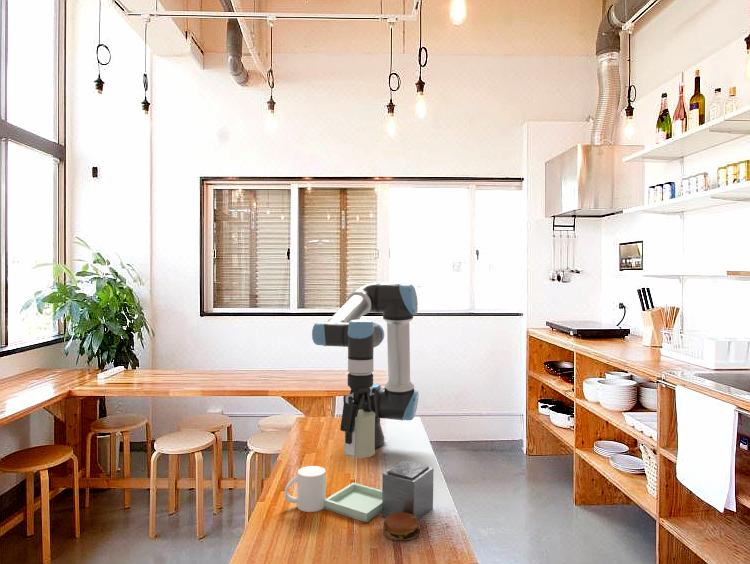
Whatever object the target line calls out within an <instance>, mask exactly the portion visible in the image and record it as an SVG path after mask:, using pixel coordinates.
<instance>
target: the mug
mask: <svg viewBox="0 0 750 564" xmlns="http://www.w3.org/2000/svg"><path fill="white" fill-rule="evenodd" d="M326 479H327V471H326V469H325V468H324V467H323V466H318V465H308V466H303V467H301V468H299V469H298V470H297V475H296V476H294V477H292V478H291V479H290V480H289V481H288V483H287V484H286V486H285V488H284V492H283V494H284V498H285V499H286V501H288V502H290V503H293V504H296V506H297V508H298V510H299V511H302V512H305V513H315V512H319V511H321V510H324V500H325V499H326V498H327V497H326V494H327V491H326V490H327V485H326V484H327V483H326V482H327V481H326ZM296 483H297V485H296V486H297V488H296V489H297V491H296V492H297V494H296V495H297V496H292V495H290V493H289V489H290V487H292V485H293V484H296Z"/></svg>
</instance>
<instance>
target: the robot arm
mask: <svg viewBox="0 0 750 564" xmlns="http://www.w3.org/2000/svg"><path fill="white" fill-rule="evenodd" d="M417 295H418V294H417V292H416V288H415V286H414V285H412V284H411V283H405V282H371V283H367V284H364V285H362V286H360V287H358V288H357V289H354V291H352V292H351V293H350V294H349V295H348V296H347V299H346V302H345V303H344V304H343V305H342V306H341V307H340V308H339V309H338V310H337V311H336V312H335V313H334V314H333V315H332V316H331V318H329V319H328V320H327V321H316V322H315V323H314V325H313V326H312V331H311V338H312V341H313V343H314V344H315V345H316V346H321V347H322V346H323V347H346V348H347V372H348V374H347V386H348V387H349V388H350V392H349V395H343V398H342V399H343V407H342V414H341V422H340V429H339V430H340V431H341V432H344V442H346V454H349V455H355V432H353V430H354V426H355V417H357V415H358V411H359V409H361V410H363V411H368V412H371V411H373V412H374V413H375V449H376V448H381V447H382V446H384V444H385V436H384V432H383V431H384V430H383V429H382V425H381V419H385V420H397V421H398V420H399V421H402V422H403V421H412V420H413V419H414V418H415V417H416V413H417V411H418V410H417V409H418V403H419V396H420V395H419V391H418V390H415V384H414V383H413V382H412V381H411V357H410V356H411V351H410V350H411V348H410V345H411V343H410V342H411V341H410V339H411V338H410V336H411V335H410V322H411V321H412V320H413V319H414V315H416V314H417V313H418V310H419V309H418V307H419V306H418V296H417ZM369 313H372V314H373V313H375V314H376V313H377V314H382V319H383V320H384V321H385V322H386V328H387V329H386V333H387V334H386V335H387V337H386V339H387V341H386V342H387V379H388V381H387V382H386V383H385V384H384V387H383V388H382V385H381V383H376V382H374V374H373V373H374V349H375V348H376V347H378V346H380V344H382V342H383V341H384V339H385V331H384V329H383V326H381V324H380V323H379V324H378V323H377V322H373V320H371V319H360V318H362V317H363V316H365V315H367V314H369Z"/></svg>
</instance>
